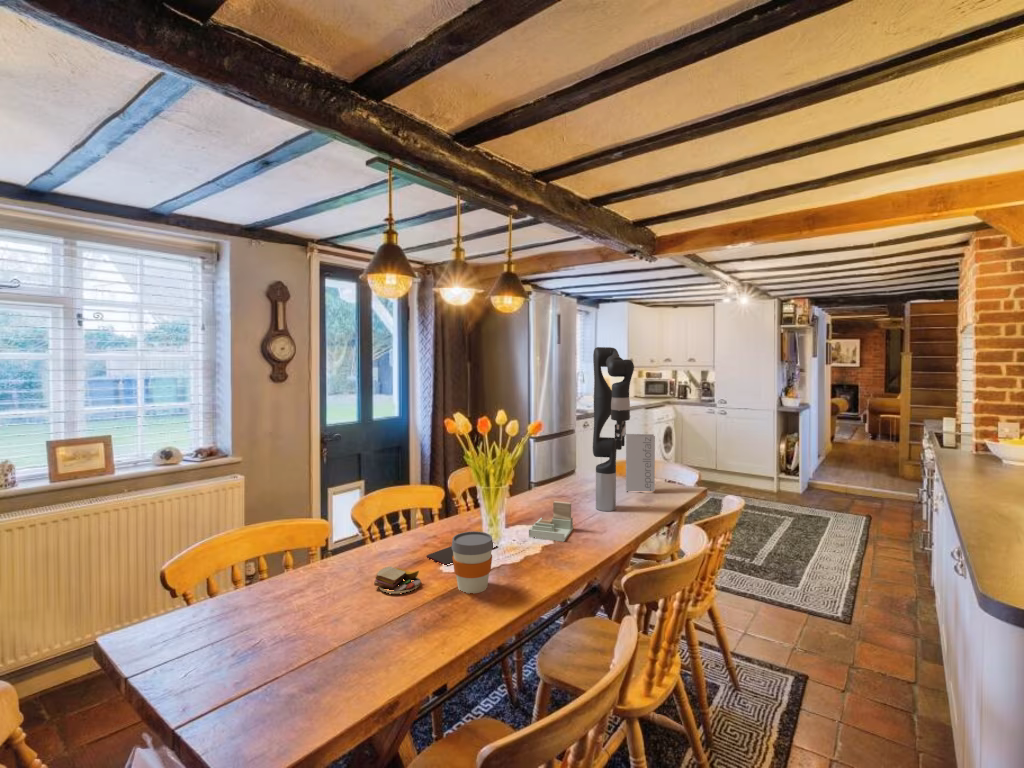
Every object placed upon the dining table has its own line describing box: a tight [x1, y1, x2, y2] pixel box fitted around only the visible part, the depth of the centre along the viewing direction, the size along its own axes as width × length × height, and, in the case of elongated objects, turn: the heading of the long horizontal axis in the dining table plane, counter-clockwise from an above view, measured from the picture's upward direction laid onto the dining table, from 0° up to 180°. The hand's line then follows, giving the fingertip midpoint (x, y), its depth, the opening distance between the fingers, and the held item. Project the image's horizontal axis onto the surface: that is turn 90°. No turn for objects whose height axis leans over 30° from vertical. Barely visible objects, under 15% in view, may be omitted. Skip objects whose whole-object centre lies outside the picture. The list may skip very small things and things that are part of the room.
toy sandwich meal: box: [373, 566, 422, 595], centre depth 151 cm, size 12×14×5 cm
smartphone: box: [425, 545, 453, 565], centre depth 179 cm, size 12×2×25 cm
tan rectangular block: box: [552, 500, 572, 520], centre depth 202 cm, size 2×7×10 cm, turn 68°
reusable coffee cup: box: [451, 530, 494, 594], centre depth 150 cm, size 13×13×15 cm
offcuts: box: [538, 519, 552, 524], centre depth 199 cm, size 5×6×3 cm
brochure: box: [625, 433, 656, 491], centre depth 260 cm, size 14×6×30 cm, turn 81°
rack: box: [528, 517, 574, 543], centre depth 198 cm, size 16×14×4 cm
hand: (620, 447), depth 203 cm, fingers open, 8 cm apart
